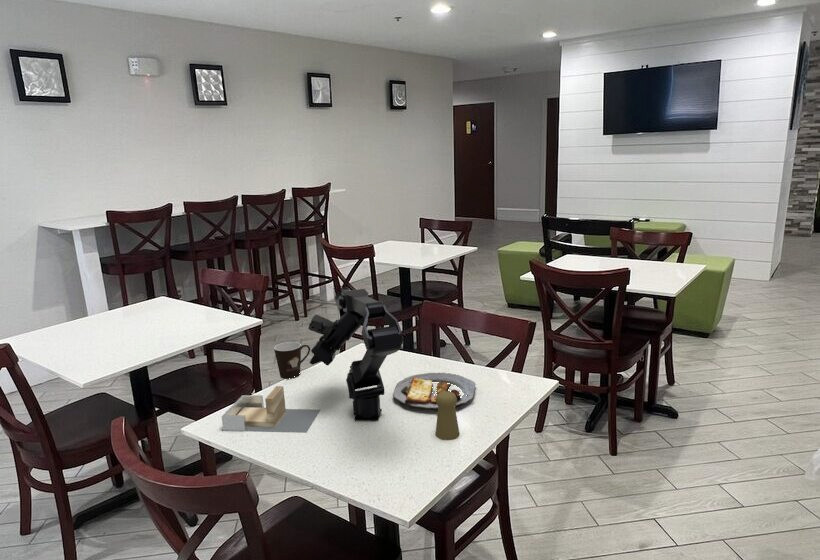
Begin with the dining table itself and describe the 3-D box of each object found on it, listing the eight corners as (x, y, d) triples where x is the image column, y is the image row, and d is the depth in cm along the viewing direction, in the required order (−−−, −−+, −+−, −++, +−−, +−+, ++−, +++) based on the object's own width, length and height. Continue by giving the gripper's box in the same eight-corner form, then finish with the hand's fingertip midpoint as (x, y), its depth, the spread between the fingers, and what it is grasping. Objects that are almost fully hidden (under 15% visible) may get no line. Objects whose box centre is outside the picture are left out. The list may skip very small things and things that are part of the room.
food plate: (470, 416, 147) (470, 404, 146) (385, 412, 152) (385, 400, 151) (478, 381, 171) (477, 370, 170) (404, 378, 176) (404, 368, 175)
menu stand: (286, 413, 153) (283, 386, 151) (275, 427, 145) (272, 398, 143) (244, 412, 154) (241, 385, 153) (232, 426, 147) (228, 398, 145)
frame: (264, 408, 156) (262, 395, 155) (245, 431, 144) (243, 417, 143) (243, 408, 157) (242, 395, 156) (223, 430, 144) (221, 416, 143)
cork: (444, 426, 143) (443, 386, 140) (464, 432, 139) (463, 392, 136) (430, 435, 138) (429, 394, 136) (450, 442, 134) (449, 400, 132)
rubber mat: (320, 410, 154) (320, 409, 154) (306, 433, 142) (306, 432, 141) (242, 409, 157) (242, 408, 157) (221, 432, 144) (221, 430, 144)
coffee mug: (277, 382, 175) (274, 352, 173) (276, 372, 183) (273, 343, 181) (314, 376, 178) (311, 347, 176) (311, 367, 186) (309, 339, 184)
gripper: (332, 297, 162) (299, 333, 166) (316, 317, 144) (279, 356, 148) (360, 323, 163) (326, 357, 167) (347, 345, 145) (310, 384, 149)
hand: (310, 363), depth 158 cm, fingers closed
